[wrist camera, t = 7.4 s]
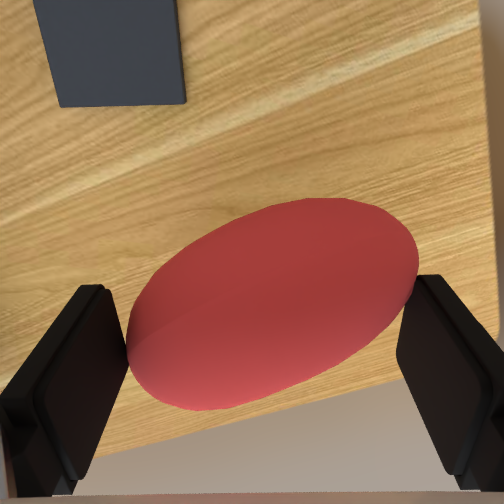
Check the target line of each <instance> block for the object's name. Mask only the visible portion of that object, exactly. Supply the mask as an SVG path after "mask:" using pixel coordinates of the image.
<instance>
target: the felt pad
mask: <svg viewBox="0 0 504 504" xmlns="http://www.w3.org/2000/svg"><path fill="white" fill-rule="evenodd" d="M33 4H34V7H35V11H36V15H37V19H38V23H39V27H40V31H41V35H42V39H43V43H44V46H45V50H46V54H47V58H48V62H49V66H50V70H51V74H52V78H53V82H54V85H55V89H56V93H57V97H58V101H59V105H60V107H61V108H65V107H101V106H138V105H175V104H185V103H186V102H187V101H186V91H185V81H184V72H183V62H182V52H181V42H180V33H179V23H178V13H177V4H176V0H33Z"/></svg>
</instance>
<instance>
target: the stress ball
mask: <svg viewBox="0 0 504 504" xmlns="http://www.w3.org/2000/svg"><path fill="white" fill-rule="evenodd" d="M418 267H419V255H418V249H417V246H416V243H415V241H414V239H413V237H412V235H411V233H410V232H409V231H408V229H407V228H406V227H405V226H404V225H403V224H402V223H401V222H399V221H398V220H397V219H396V218H394V217H393V216H392V215H391V214H389V213H388V212H386V211H385V210H383V209H381V208H379V207H377V206H374V205H370V204H366V203H362V202H358V201H354V200H350V199H346V198H306V199H301V200H296V201H291V202H286V203H281V204H276V205H271V206H269V207H266V208H264V209H261V210H259V211H256V212H253V213H251V214H248V215H245V216H243V217H240V218H238V219H235V220H233V221H231V222H229V223H227V224H225V225H223V226H221V227H219V228H217V229H216V230H214V231H212V232H210V233H208V234H206V235H205V236H203V237H201V238H200V239H198V240H196V241H195V242H193V243H191V244H190V245H188V246H187V247H185V248H184V249H182V250H181V251H180V252H179V253H177V254H176V255H175V256H174V257H173V258H171V259H170V260H169V261H168V262H166V263H165V264H164V265H163V266H162V267H161V268H160V269H158V270H157V271H156V272H155V273H154V275H153V276H152V278H151V279H150V280H149V282H148V283H147V285H146V286H145V287H144V289H143V290H142V292H141V293H140V295H139V296H138V298H137V299H136V301H135V303H134V305H133V308H132V310H131V313H130V318H129V323H128V328H127V334H126V354H127V360H128V363H129V366H130V369H131V371H132V373H133V375H134V376H135V378H136V380H137V381H138V383H139V384H140V385H141V386H142V387H143V389H144V390H145V391H147V392H148V393H149V394H150V395H151V396H153V397H154V398H156V399H158V400H160V401H161V402H163V403H166V404H169V405H172V406H176V407H179V408H182V409H187V410H194V411H203V410H215V409H227V408H231V407H234V406H238V405H241V404H244V403H248V402H251V401H254V400H258V399H261V398H263V397H266V396H269V395H271V394H274V393H276V392H279V391H281V390H284V389H286V388H289V387H291V386H293V385H296V384H298V383H301V382H303V381H306V380H308V379H310V378H312V377H314V376H316V375H318V374H320V373H322V372H324V371H326V370H328V369H330V368H332V367H334V366H336V365H338V364H340V363H341V362H342V361H344V360H345V359H347V358H348V357H350V356H351V355H353V354H354V353H356V352H357V351H359V350H360V349H362V348H363V347H365V346H366V345H368V344H369V343H370V342H371V341H372V340H373V339H374V338H376V337H377V336H378V335H379V334H380V333H381V332H382V331H383V330H384V329H386V328H387V327H388V326H389V325H390V324H391V322H392V321H393V320H394V319H395V318H396V316H397V315H398V313H399V312H400V311H401V309H402V308H403V306H404V305H405V304H406V302H407V301H408V299H409V297H410V296H411V294H412V291H413V287H414V282H415V280H416V277H417V273H418Z"/></svg>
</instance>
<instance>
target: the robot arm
mask: <svg viewBox="0 0 504 504" xmlns="http://www.w3.org/2000/svg"><path fill="white" fill-rule="evenodd" d="M396 358H397V362H398V365H399V367H400V369H401V372H402V374H403V376H404V378H405V381H406V383H407V385H408V387H409V390H410V392H411V394H412V396H413V399H414V401H415V403H416V405H417V408H418V410H419V412H420V414H421V417H422V419H423V421H424V424H425V426H426V428H427V430H428V433H429V435H430V437H431V439H432V442H433V444H434V446H435V448H436V451H437V453H438V455H439V457H440V460H441V462H442V464H443V466H444V469H445V471H446V472H447V473H448V474H449V475H454V477H455V479H456V481H457V483H458V486H459V488H460V490H480V491H481V492H441V491H440V492H439V491H438V492H437V491H426V492H303V493H302V492H299V493H298V492H295V493H218V494H217V493H216V494H215V493H213V494H153V495H98V496H97V495H96V496H62V497H52V495H72V494H73V491H74V489H75V487H76V484H77V482H78V480H82V479H83V478H84V477H85V475H86V473H87V471H88V469H89V466H90V464H91V461H92V458H93V456H94V453H95V451H96V448H97V446H98V443H99V441H100V438H101V436H102V433H103V431H104V428H105V426H106V423H107V421H108V418H109V416H110V413H111V411H112V408H113V405H114V403H115V400H116V398H117V395H118V393H119V390H120V388H121V385H122V383H123V380H124V378H125V375H126V373H127V370H128V367H129V363H128V360H127V354H126V344H125V341H124V337H123V333H122V330H121V326H120V322H119V319H118V315H117V312H116V308H115V304H114V301H113V297H112V293H111V291H110V290H109V289H105V287H104V286H103V285H102V284H94V285H81V286H80V287H79V288H78V289H77V291H76V292H75V293H74V295H73V296H72V297H71V299H70V300H69V302H68V303H67V304H66V306H65V307H64V308H63V310H62V311H61V312H60V314H59V315H58V317H57V318H56V319H55V321H54V322H53V323H52V325H51V326H50V328H49V329H48V330H47V332H46V333H45V334H44V336H43V337H42V338H41V340H40V341H39V343H38V344H37V345H36V347H35V348H34V349H33V351H32V352H31V353H30V355H29V356H28V358H27V359H26V360H25V362H24V363H23V364H22V366H21V367H20V368H19V370H18V371H17V373H16V374H15V375H14V377H13V378H12V379H11V381H10V382H9V384H8V385H7V386H6V388H5V389H4V390H3V392H2V393H1V394H0V504H504V352H503V351H502V350H501V348H500V347H499V346H498V345H497V343H496V342H495V341H494V340H493V338H492V337H491V336H490V335H489V333H488V332H487V331H486V330H485V328H484V327H483V326H482V325H481V324H480V323H479V322H478V321H477V320H476V318H475V317H474V316H473V315H472V313H471V312H470V311H469V310H468V308H467V307H466V306H465V305H464V303H463V302H462V301H461V300H460V298H459V297H458V296H457V295H456V293H455V292H454V291H453V290H452V288H451V287H450V286H449V285H448V283H447V282H446V281H445V280H444V278H443V277H442V276H441V275H438V274H434V275H418V276H417V277H416V280H415V282H414V287H413V291H412V294H411V296H410V297H409V299H408V301H407V302H406V304H405V307H404V312H403V317H402V322H401V328H400V333H399V338H398V343H397V348H396Z"/></svg>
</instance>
